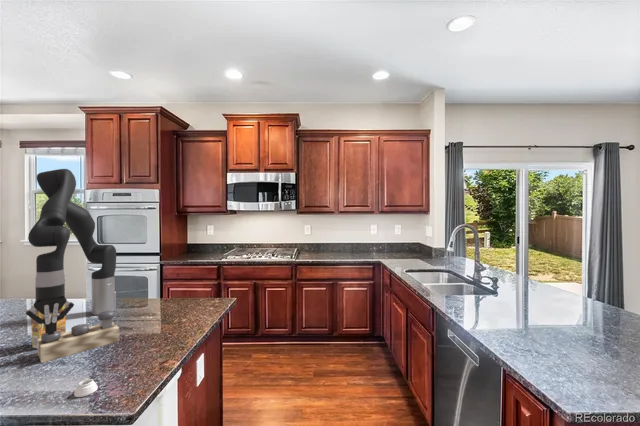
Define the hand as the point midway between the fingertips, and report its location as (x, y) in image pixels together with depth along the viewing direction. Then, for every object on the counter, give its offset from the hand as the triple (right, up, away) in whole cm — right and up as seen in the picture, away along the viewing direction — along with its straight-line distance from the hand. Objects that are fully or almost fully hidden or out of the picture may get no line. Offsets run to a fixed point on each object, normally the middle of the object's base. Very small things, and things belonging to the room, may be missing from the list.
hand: (50, 333), depth 103 cm
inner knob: (+11, -4, +12) cm, 17 cm away
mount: (+5, -7, +6) cm, 11 cm away
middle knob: (+5, -7, +6) cm, 11 cm away
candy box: (-9, -8, +9) cm, 15 cm away
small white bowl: (+29, -8, -21) cm, 37 cm away
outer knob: (0, -7, 0) cm, 7 cm away
